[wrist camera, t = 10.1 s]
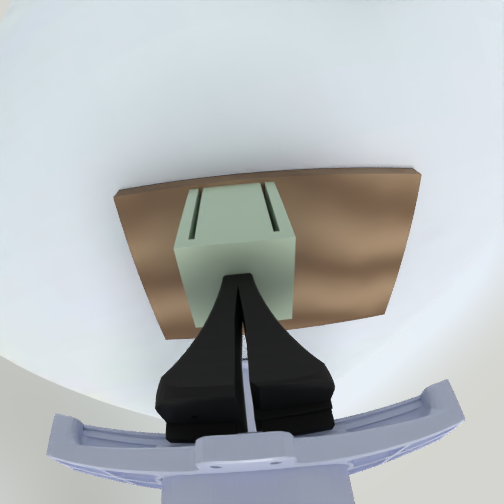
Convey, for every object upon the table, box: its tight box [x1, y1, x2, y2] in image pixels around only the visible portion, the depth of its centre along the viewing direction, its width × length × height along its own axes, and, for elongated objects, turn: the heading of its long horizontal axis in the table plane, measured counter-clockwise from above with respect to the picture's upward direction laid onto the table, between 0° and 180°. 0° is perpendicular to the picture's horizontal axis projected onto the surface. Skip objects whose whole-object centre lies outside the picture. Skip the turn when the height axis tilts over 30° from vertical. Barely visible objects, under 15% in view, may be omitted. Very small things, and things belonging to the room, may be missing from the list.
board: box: [114, 168, 421, 340], centre depth 23 cm, size 15×22×1 cm
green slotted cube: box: [174, 182, 296, 328], centre depth 17 cm, size 5×5×7 cm
